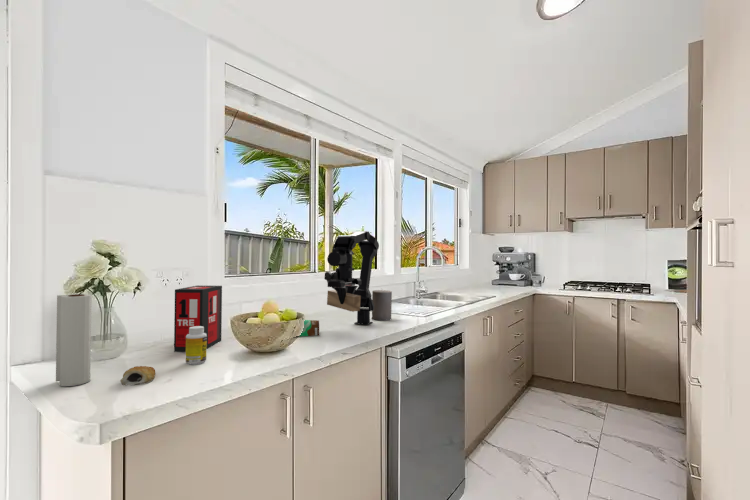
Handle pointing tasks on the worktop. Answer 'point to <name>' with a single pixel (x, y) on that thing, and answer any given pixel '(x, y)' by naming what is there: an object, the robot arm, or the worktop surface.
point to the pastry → (138, 375)
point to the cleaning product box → (197, 314)
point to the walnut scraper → (349, 303)
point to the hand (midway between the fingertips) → (345, 303)
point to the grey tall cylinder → (73, 339)
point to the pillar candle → (382, 304)
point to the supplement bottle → (196, 345)
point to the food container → (310, 328)
